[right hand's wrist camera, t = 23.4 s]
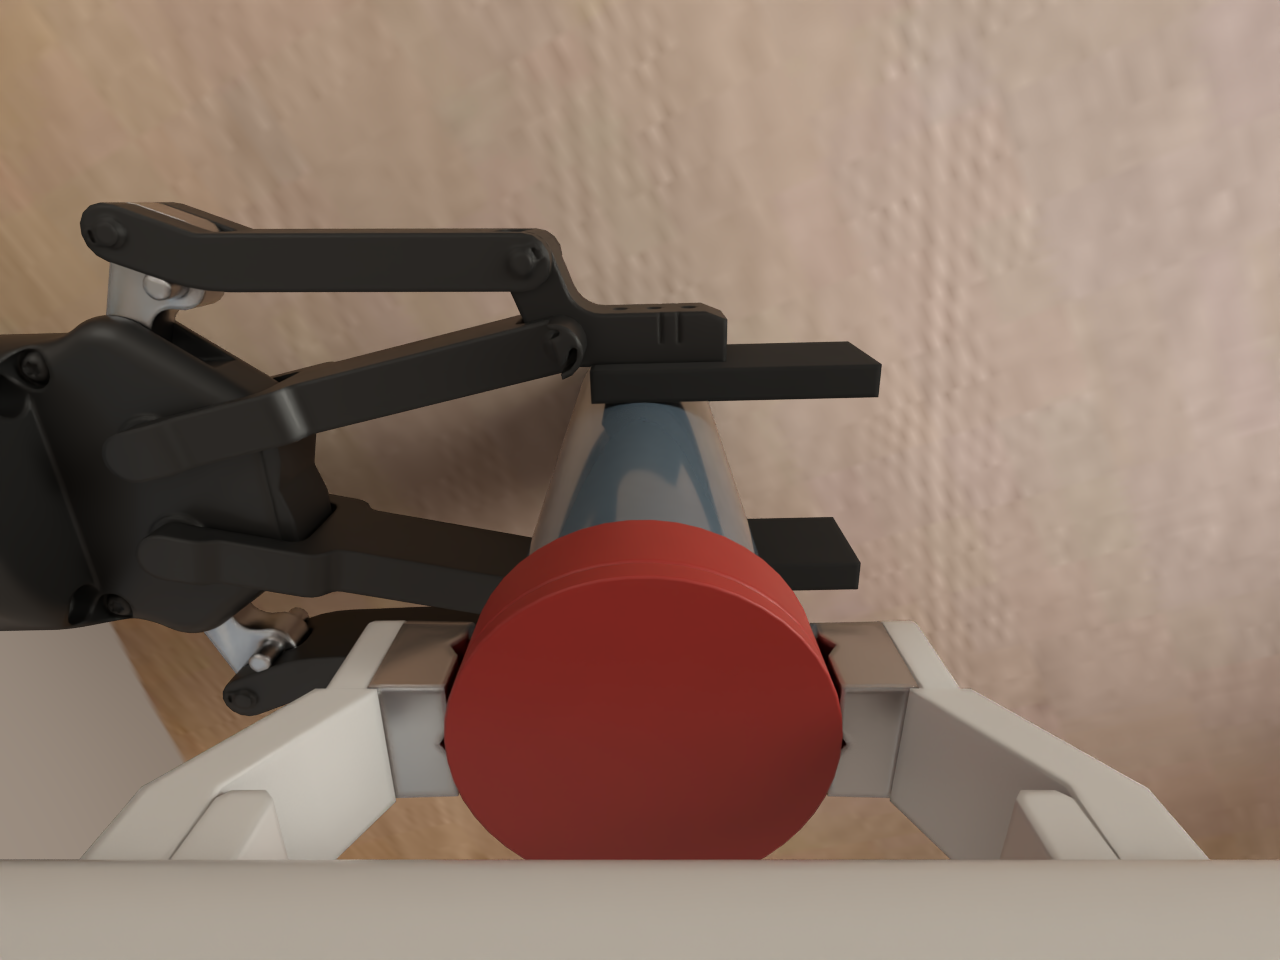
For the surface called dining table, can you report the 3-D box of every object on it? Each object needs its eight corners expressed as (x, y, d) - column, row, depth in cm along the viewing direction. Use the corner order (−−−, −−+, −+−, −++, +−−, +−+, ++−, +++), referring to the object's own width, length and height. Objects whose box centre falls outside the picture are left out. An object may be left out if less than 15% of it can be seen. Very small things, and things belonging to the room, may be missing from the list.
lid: (881, 603, 10) (923, 673, 8) (714, 839, 11) (725, 932, 10) (550, 458, 9) (533, 508, 7) (424, 736, 11) (390, 821, 9)
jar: (608, 319, 22) (555, 516, 8) (726, 372, 23) (857, 636, 9) (559, 434, 24) (446, 762, 10) (672, 480, 24) (713, 851, 11)
